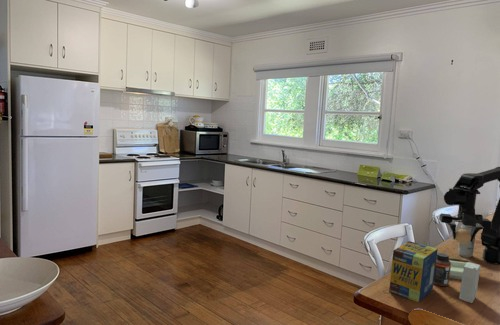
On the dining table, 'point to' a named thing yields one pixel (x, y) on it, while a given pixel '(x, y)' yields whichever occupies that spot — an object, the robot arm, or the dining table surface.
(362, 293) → the dining table surface
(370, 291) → the dining table surface
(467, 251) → the energy drink can
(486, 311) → the dining table surface
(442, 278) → the supplement bottle
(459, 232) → the ball
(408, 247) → the protein box
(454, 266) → the tray
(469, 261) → the holder
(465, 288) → the skincare box
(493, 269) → the dining table surface
